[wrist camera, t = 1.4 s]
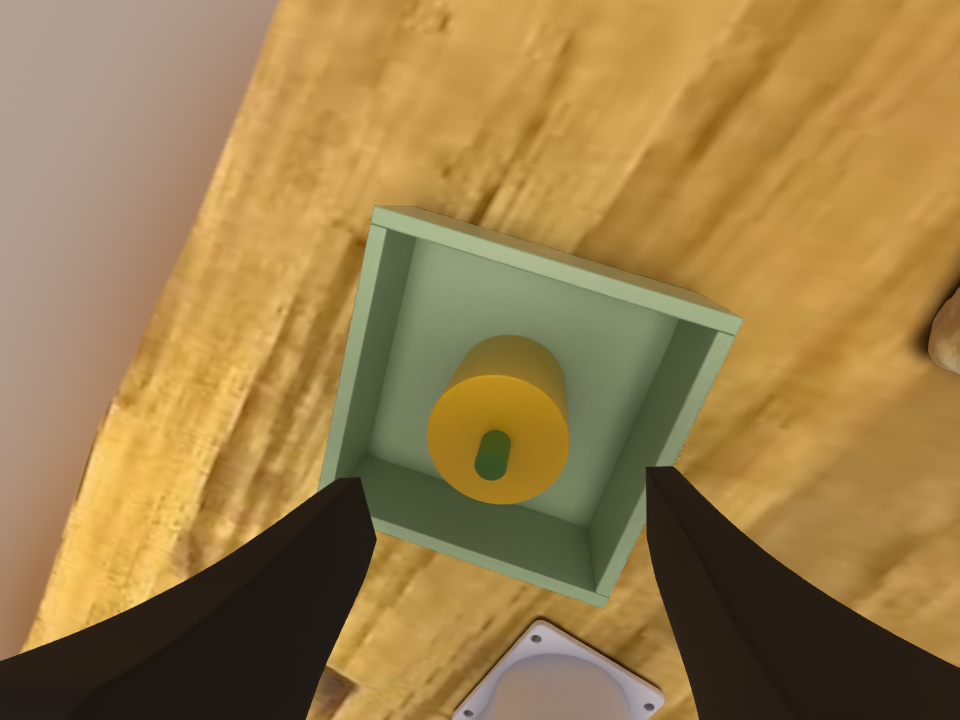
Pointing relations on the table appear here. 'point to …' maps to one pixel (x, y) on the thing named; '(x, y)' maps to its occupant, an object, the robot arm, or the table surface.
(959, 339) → the pastry
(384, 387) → the basket
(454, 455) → the pepper
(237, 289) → the table surface
